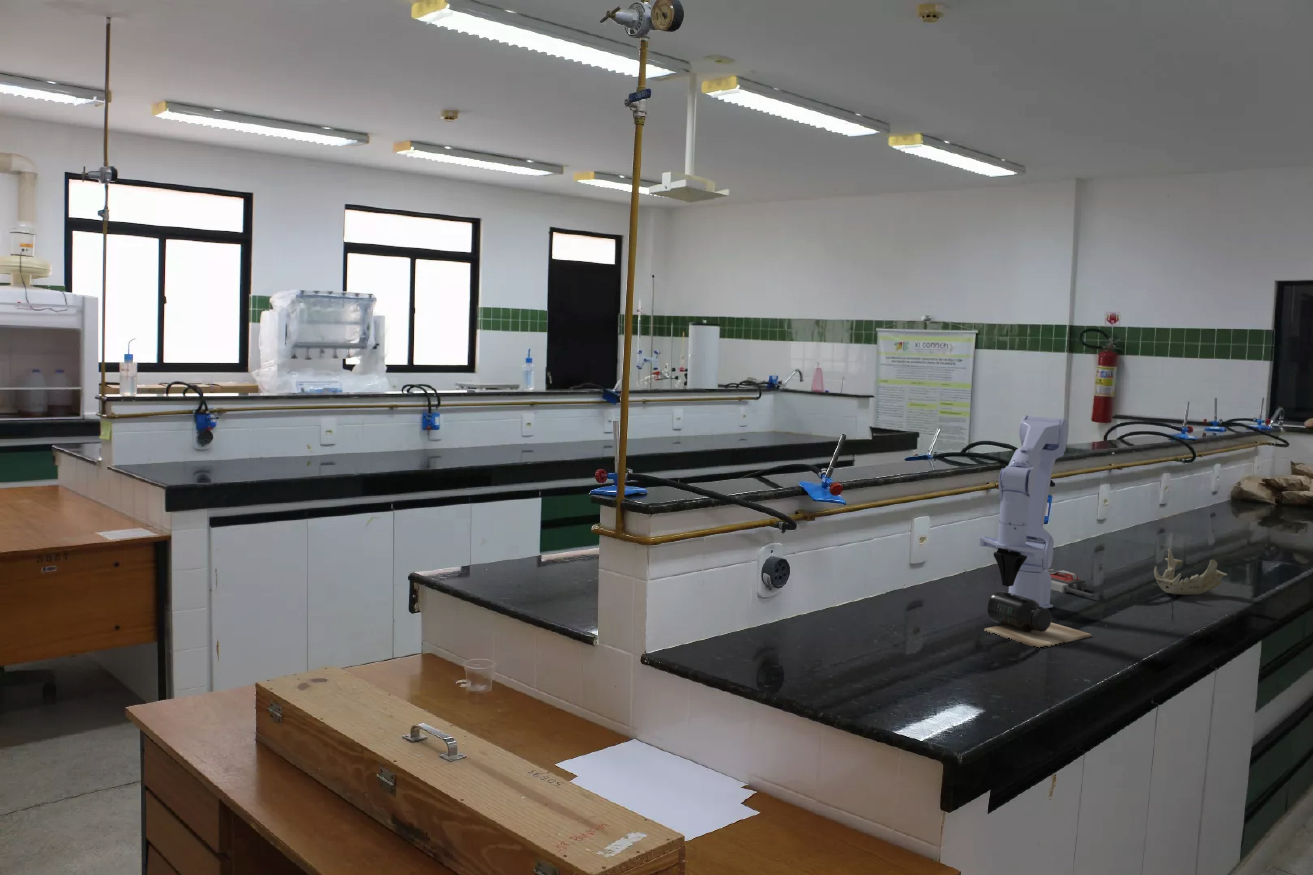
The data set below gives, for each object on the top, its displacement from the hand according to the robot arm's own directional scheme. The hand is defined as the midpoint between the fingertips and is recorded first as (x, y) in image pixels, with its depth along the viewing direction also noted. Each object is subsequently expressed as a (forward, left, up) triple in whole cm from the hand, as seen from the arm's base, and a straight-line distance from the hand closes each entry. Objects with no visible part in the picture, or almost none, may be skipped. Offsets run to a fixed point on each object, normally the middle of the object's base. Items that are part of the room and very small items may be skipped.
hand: (1007, 585), depth 212 cm
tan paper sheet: (0, +8, -8) cm, 12 cm away
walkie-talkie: (-42, -13, -9) cm, 45 cm away
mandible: (-67, +3, -9) cm, 68 cm away
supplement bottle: (+2, -1, -4) cm, 5 cm away
